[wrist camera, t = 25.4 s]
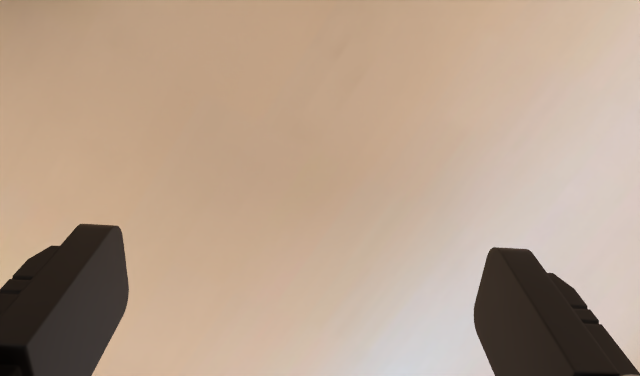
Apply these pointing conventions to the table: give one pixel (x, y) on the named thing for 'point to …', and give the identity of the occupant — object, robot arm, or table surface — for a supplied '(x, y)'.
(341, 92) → the table surface
